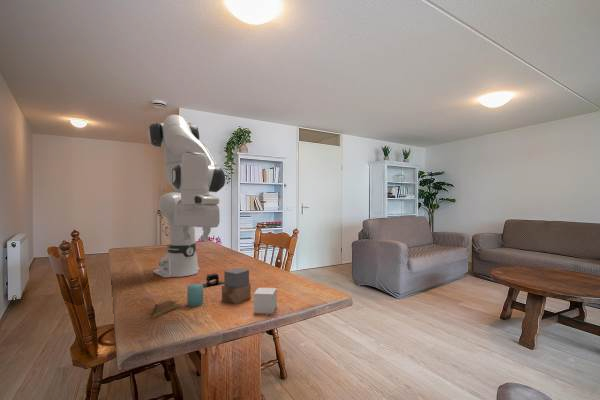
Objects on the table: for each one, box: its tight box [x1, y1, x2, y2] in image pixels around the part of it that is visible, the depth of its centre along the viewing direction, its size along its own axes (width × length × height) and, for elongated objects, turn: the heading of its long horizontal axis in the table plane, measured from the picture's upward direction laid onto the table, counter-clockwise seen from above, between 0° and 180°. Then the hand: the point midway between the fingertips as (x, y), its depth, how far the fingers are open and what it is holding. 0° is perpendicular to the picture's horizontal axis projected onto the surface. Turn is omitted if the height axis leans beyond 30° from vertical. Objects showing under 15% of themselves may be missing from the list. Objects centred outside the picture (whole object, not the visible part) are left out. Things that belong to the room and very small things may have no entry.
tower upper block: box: [223, 267, 250, 289], centre depth 97 cm, size 6×6×5 cm
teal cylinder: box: [186, 283, 204, 308], centre depth 92 cm, size 5×5×6 cm
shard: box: [150, 299, 182, 319], centre depth 87 cm, size 11×8×2 cm
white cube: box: [253, 287, 278, 315], centre depth 87 cm, size 6×6×6 cm
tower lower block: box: [221, 283, 252, 305], centre depth 97 cm, size 7×7×5 cm
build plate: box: [202, 272, 224, 289], centre depth 114 cm, size 12×7×5 cm, turn 129°
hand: (195, 240), depth 92 cm, fingers open, 8 cm apart
